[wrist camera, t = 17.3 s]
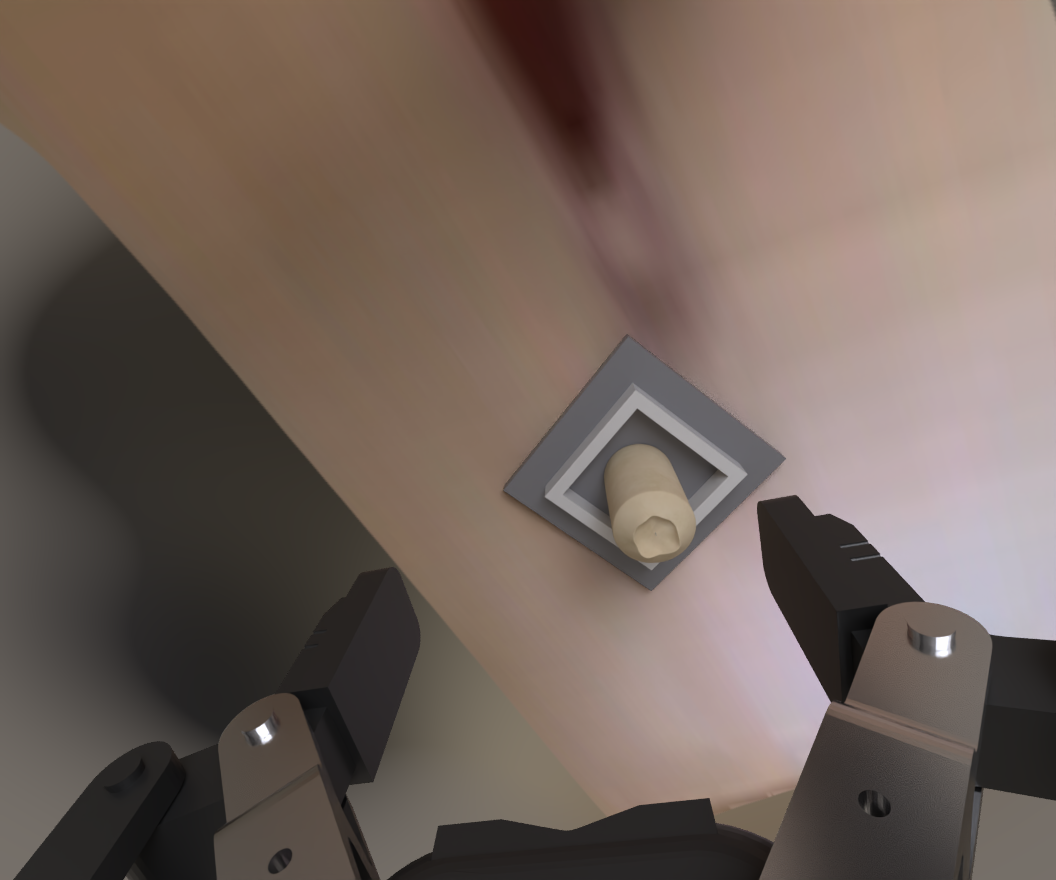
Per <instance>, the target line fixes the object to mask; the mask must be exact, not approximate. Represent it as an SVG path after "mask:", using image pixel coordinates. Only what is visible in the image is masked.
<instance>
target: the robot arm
mask: <svg viewBox="0 0 1056 880" xmlns="http://www.w3.org/2000/svg"><path fill="white" fill-rule="evenodd" d="M757 514H758V523H759V532H760V541H761V550H762V559H763V567H764V572H765V576H766V579H767V583H768V586H769V588H770V591H771V593H772V595H773V597H774V599H775V601H776V603H777V604H778V606H779V608H780V610H781V612H782V614H783V615H784V617H785V619H786V621H787V623H788V625H789V626H790V628H791V630H792V632H793V634H794V636H795V637H796V639H797V641H798V643H799V645H800V647H801V648H802V650H803V652H804V654H805V656H806V658H807V659H808V661H809V663H810V665H811V667H812V668H813V670H814V672H815V674H816V676H817V678H818V679H819V681H820V683H821V685H822V687H823V689H824V690H825V692H826V694H827V696H828V698H829V700H830V701H831V704H830V705H829V707H828V709H827V711H826V713H825V716H824V718H823V721H822V723H821V726H820V728H819V731H818V733H817V736H816V738H815V741H814V743H813V746H812V748H811V751H810V753H809V756H808V758H807V761H806V763H805V766H804V768H803V771H802V773H801V776H800V778H799V781H798V783H797V786H796V788H795V791H794V793H793V796H792V798H791V801H790V803H789V806H788V808H787V811H786V813H785V816H784V818H783V821H782V823H781V826H780V828H779V831H778V834H777V836H776V838H775V841H774V843H773V842H772V841H770V840H768V839H766V838H764V837H761V836H759V835H757V834H754V833H752V832H749V831H746V830H743V829H740V828H736V827H733V826H729V825H724V824H719V823H715V819H714V815H713V811H712V807H711V803H710V799H709V798H706V799H696V800H686V801H676V802H667V803H657V804H647V805H639V806H636V807H633V808H631V809H628V810H625V811H623V812H620V813H617V814H615V815H612V816H609V817H607V818H604V819H601V820H599V821H596V822H594V823H591V824H588V825H586V826H583V827H580V828H578V829H574V830H570V831H563V830H557V829H551V828H546V827H540V826H535V825H529V824H524V823H518V822H513V821H507V820H502V819H500V820H491V821H481V822H471V823H461V824H452V825H443V826H438V830H437V834H436V839H435V844H434V848H433V852H431V853H429V854H426V855H424V856H423V857H421V858H419V859H417V860H415V861H413V862H411V863H410V864H409V865H407V866H405V867H404V868H402V869H401V870H399V871H398V872H396V873H395V874H394V875H393V876H391V877H390V878H389V879H387V880H972V873H973V866H974V859H975V851H976V844H977V836H978V828H979V821H980V813H981V806H982V797H983V790H984V788H988V789H994V790H1000V791H1005V792H1011V793H1016V794H1022V795H1028V796H1034V797H1039V798H1045V799H1050V800H1056V641H1053V640H1040V639H1028V638H1015V637H1004V636H995V635H990V634H989V633H988V632H987V630H986V629H985V628H984V627H983V626H982V625H981V624H980V623H979V622H978V621H976V620H975V619H974V618H972V617H970V616H969V615H967V614H965V613H963V612H961V611H959V610H956V609H953V608H950V607H948V606H944V605H940V604H935V603H929V602H925V601H924V600H923V599H922V598H921V597H920V596H919V595H918V594H917V593H916V592H915V591H914V590H913V589H912V587H911V586H910V585H909V584H908V583H907V582H906V581H905V580H904V579H903V578H902V577H901V576H900V575H899V574H898V572H897V571H896V570H895V569H894V568H893V567H892V566H891V565H890V564H889V563H888V562H887V561H886V560H885V559H884V558H883V557H881V556H880V553H879V552H878V551H877V550H876V549H875V548H874V547H873V546H872V545H871V544H868V540H867V539H866V538H865V537H864V536H863V535H862V534H861V533H860V532H859V531H858V530H857V529H856V528H855V527H854V525H852V524H850V523H848V522H846V521H844V520H842V519H840V518H838V517H835V516H833V515H831V514H826V515H820V516H814V515H813V514H812V512H811V511H810V510H809V509H808V508H807V506H806V505H805V504H804V503H803V502H802V501H801V499H800V498H799V497H798V496H796V495H792V496H787V497H781V498H775V499H770V500H764V501H759V502H758V504H757ZM313 632H314V634H313V635H311V636H310V638H309V639H308V641H307V643H306V644H305V649H303V650H302V651H301V652H300V654H299V656H298V657H297V659H296V660H295V662H294V664H293V665H292V667H291V669H290V670H289V672H288V673H287V675H286V677H285V678H284V680H283V682H282V683H281V685H280V686H279V688H278V690H277V691H276V693H275V694H274V695H271V696H268V697H265V698H263V699H261V700H259V701H257V702H255V703H253V704H252V705H250V706H249V707H247V708H246V709H244V710H243V711H242V712H241V713H239V714H238V715H237V716H236V717H235V718H234V719H233V720H232V721H231V722H230V723H229V725H228V726H227V727H226V729H225V730H224V732H223V734H222V735H221V738H220V740H219V744H216V745H214V746H211V747H209V748H206V749H204V750H201V751H199V752H196V753H193V754H191V755H189V756H186V757H184V758H181V759H178V758H177V756H176V754H175V753H174V751H173V750H172V748H171V747H170V745H169V744H167V743H165V742H160V741H159V742H158V741H157V742H151V743H147V744H144V745H142V746H139V747H137V748H135V749H132V750H131V751H129V752H127V753H126V754H124V755H122V756H121V757H119V758H118V759H116V760H115V761H114V762H112V763H111V764H109V765H108V766H107V767H106V768H105V769H104V770H103V771H101V772H100V773H99V775H97V776H96V777H95V778H94V780H93V781H92V782H91V783H90V784H89V785H88V787H87V788H86V789H85V790H84V792H83V793H82V794H81V795H80V797H79V798H78V799H77V800H76V802H75V803H74V804H73V805H72V807H71V808H70V809H69V811H68V812H67V813H66V814H65V815H64V817H63V818H62V819H61V820H60V822H59V823H58V824H57V825H56V827H55V828H54V829H53V831H52V832H51V833H50V834H49V836H48V837H47V838H46V839H45V841H44V842H43V843H42V844H41V846H40V847H39V848H38V849H37V851H36V852H35V853H34V854H33V856H32V857H31V858H30V859H29V861H28V862H27V863H26V864H25V866H24V867H23V868H22V869H21V871H20V872H19V873H18V874H17V876H16V877H15V878H14V879H13V880H123V879H124V878H125V876H126V877H127V878H128V879H129V880H380V878H379V875H378V872H377V869H376V867H375V864H374V862H373V859H372V856H371V854H370V851H369V849H368V846H367V843H366V841H365V838H364V836H363V833H362V831H361V828H360V825H359V822H358V820H357V817H356V815H355V812H354V809H353V807H352V805H351V803H350V801H349V799H348V797H347V795H346V791H347V789H348V786H349V785H352V784H361V783H369V782H373V781H374V778H375V775H376V773H377V770H378V767H379V764H380V761H381V758H382V755H383V752H384V749H385V746H386V743H387V741H388V738H389V735H390V732H391V729H392V726H393V723H394V720H395V718H396V715H397V712H398V709H399V706H400V703H401V700H402V697H403V694H404V691H405V688H406V686H407V683H408V680H409V677H410V674H411V671H412V668H413V665H414V662H415V660H416V657H417V654H418V651H419V647H420V628H419V623H418V620H417V617H416V615H415V612H414V609H413V607H412V604H411V601H410V599H409V596H408V594H407V591H406V588H405V586H404V583H403V580H402V578H401V576H400V573H399V572H398V570H397V569H396V568H394V567H390V568H384V569H378V570H374V571H367V572H363V573H361V574H359V576H358V578H357V579H356V581H355V583H354V584H353V586H352V588H351V589H350V591H349V593H348V594H347V596H346V597H345V598H341V599H340V600H339V601H338V602H337V603H336V604H334V605H333V606H332V607H331V608H330V609H329V610H328V611H327V612H326V613H325V614H324V615H323V617H322V618H321V620H320V622H319V623H318V625H317V626H316V628H315V630H314V631H313Z"/></svg>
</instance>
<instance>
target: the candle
mask: <svg viewBox="0 0 1056 880" xmlns="http://www.w3.org/2000/svg"><path fill="white" fill-rule="evenodd" d="M604 483H605V490H606V496H607V502H608V508H609V514H610V520H611V526H612V532H613V537H614V540H615V542H616V544H617V546H618V547H619V548H620V550H621V551H622V552H623V553H625V554H626V555H627V556H629V557H630V558H632V559H635V560H637V561H640V562H646V563H659V562H664V561H668V560H670V559H673V558H675V557H676V556H678V555H680V554H681V553H682V552H683V551H684V550H686V548H687V547H688V546H689V545H690V543H691V542H692V540H693V538H694V535H695V531H696V519H695V515H694V513H693V510H692V508H691V506H690V504H689V502H688V499H687V497H686V495H685V493H684V491H683V488H682V486H681V484H680V482H679V480H678V478H677V475H676V473H675V471H674V469H673V467H672V465H671V463H670V461H669V459H668V458H667V456H666V455H665V454H664V453H663V452H661V451H660V450H659V449H657V448H655V447H653V446H650V445H646V444H633V445H629V446H626V447H623V448H621V449H620V450H618V451H617V452H616V453H614V454H613V455H612V457H611V458H610V459H609V461H608V463H607V465H606V468H605V472H604Z"/></svg>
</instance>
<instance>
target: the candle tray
mask: <svg viewBox="0 0 1056 880" xmlns="http://www.w3.org/2000/svg"><path fill="white" fill-rule="evenodd" d="M633 444H646V445H650V446H653V447H655V448H657V449H659V450H660V451H661V452H663V453H664V454H665V455H666V456H667V458H668V459H669V461H670V463H671V465H672V467H673V469H674V471H675V473H676V475H677V478H678V480H679V482H680V484H681V486H682V488H683V491H684V493H685V495H686V497H687V499H688V502H689V504H690V506H691V508H692V510H693V513H694V515H695V519H696V531H695V535H694V538H693V540H692V542H691V543H690V545H689V546H688V547H687V548H686V550H684V551H683V552H682V553H681V554H680V555H678V556H676V557H675V558H673V559H670V560H668V561H664V562H659V563H646V562H640V561H637V560H635V559H632V558H630V557H629V556H627V555H626V554H625V553H623V552H622V551H621V550H620V548H619V547H618V546H617V544H616V542H615V540H614V537H613V532H612V526H611V520H610V514H609V508H608V502H607V496H606V490H605V483H604V472H605V468H606V465H607V463H608V461H609V459H610V458H611V457H612V455H613V454H614V453H616V452H617V451H618V450H620V449H621V448H623V447H626V446H629V445H633ZM785 459H786V458H785V457H784V456H783V455H782V454H781V453H780V452H779V451H777V450H776V449H775V448H774V447H772V446H771V445H770V444H768V443H767V442H766V441H764V440H763V439H762V438H761V437H759V436H758V435H757V434H755V433H754V432H753V431H752V430H750V429H749V428H748V427H746V426H745V425H744V424H743V423H741V422H740V421H739V420H737V419H736V418H735V417H733V416H732V415H731V414H730V413H728V412H727V411H726V410H724V409H723V408H722V407H721V406H719V405H718V404H717V403H715V402H714V401H713V400H712V399H710V398H709V397H708V396H706V395H705V394H704V393H702V392H701V391H700V390H699V389H697V388H696V387H695V386H693V385H692V384H691V383H690V382H688V381H687V380H686V379H684V378H683V377H682V376H681V375H679V374H678V373H677V372H675V371H674V370H673V369H671V368H670V367H669V366H668V365H666V364H665V363H664V362H662V361H661V360H660V359H659V358H657V357H656V356H655V355H653V354H652V353H651V352H650V351H648V350H647V349H646V348H644V347H643V346H642V345H640V344H639V343H638V342H637V341H635V340H634V339H633V338H631V337H630V336H629V335H628V334H627V335H626V336H625V337H624V338H623V339H622V341H621V342H620V343H619V344H618V346H617V347H616V348H615V349H614V351H613V352H612V353H611V354H610V356H609V357H608V358H607V359H606V360H605V362H604V363H603V364H602V365H601V367H600V368H599V369H598V370H597V372H596V373H595V374H594V375H593V377H592V378H591V379H590V380H589V382H588V383H587V384H586V385H585V386H584V388H583V389H582V390H581V391H580V393H579V394H578V395H577V396H576V398H575V399H574V400H573V401H572V403H571V404H570V405H569V406H568V407H567V409H566V410H565V411H564V412H563V414H562V415H561V416H560V417H559V419H558V420H557V421H556V422H555V424H554V425H553V426H552V427H551V428H550V430H549V431H548V432H547V433H546V435H545V436H544V437H543V438H542V440H541V441H540V442H539V443H538V445H537V446H536V447H535V448H534V449H533V451H532V452H531V453H530V454H529V456H528V457H527V458H526V459H525V461H524V462H523V463H522V464H521V466H520V467H519V468H518V469H517V471H516V472H515V473H514V474H513V475H512V477H511V478H510V479H509V480H508V482H507V483H506V484H505V486H504V490H503V491H505V492H506V493H508V494H509V495H511V496H512V497H514V498H515V499H517V500H518V501H520V502H521V503H523V504H524V505H526V506H527V507H528V508H530V509H531V510H533V511H534V512H536V513H537V514H539V515H540V516H542V517H543V518H545V519H546V520H548V521H549V522H551V523H552V524H553V525H555V526H556V527H558V528H559V529H561V530H562V531H564V532H565V533H567V534H568V535H570V536H571V537H573V538H574V539H576V540H577V541H579V542H580V543H581V544H583V545H584V546H586V547H587V548H589V549H590V550H592V551H593V552H595V553H596V554H598V555H599V556H601V557H602V558H604V559H605V560H606V561H608V562H609V563H611V564H612V565H614V566H615V567H617V568H618V569H620V570H621V571H623V572H624V573H626V574H627V575H629V576H630V577H631V578H633V579H634V580H636V581H637V582H639V583H640V584H642V585H643V586H645V587H646V588H648V589H649V590H651V591H652V590H653V589H654V588H655V587H656V586H657V585H658V584H659V583H660V582H661V581H662V580H663V579H664V578H665V577H666V576H667V575H668V574H669V573H670V572H671V571H672V570H673V569H674V568H675V567H676V566H677V565H678V564H679V563H680V562H681V561H682V560H683V559H684V558H685V557H687V556H688V555H689V554H690V553H691V552H692V551H693V550H694V549H695V548H696V547H697V546H698V545H699V544H700V543H701V542H702V541H703V540H704V539H705V538H706V537H707V536H708V535H709V534H710V533H711V532H712V531H713V530H714V529H715V528H716V527H717V526H718V525H719V524H720V523H721V522H722V521H723V520H724V519H725V518H726V517H727V516H728V515H729V514H730V513H731V512H732V511H733V510H734V509H735V508H736V507H737V506H738V505H739V504H740V503H742V502H743V501H744V500H745V499H746V498H747V497H748V496H749V495H750V494H751V493H752V492H753V491H754V490H755V489H756V488H757V487H758V486H759V485H760V484H761V483H762V482H763V481H764V480H765V479H766V478H767V477H768V476H769V475H770V474H771V473H772V472H773V471H774V470H775V469H776V468H777V467H778V466H779V465H780V464H781V463H782V462H783V461H784V460H785Z"/></svg>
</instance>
